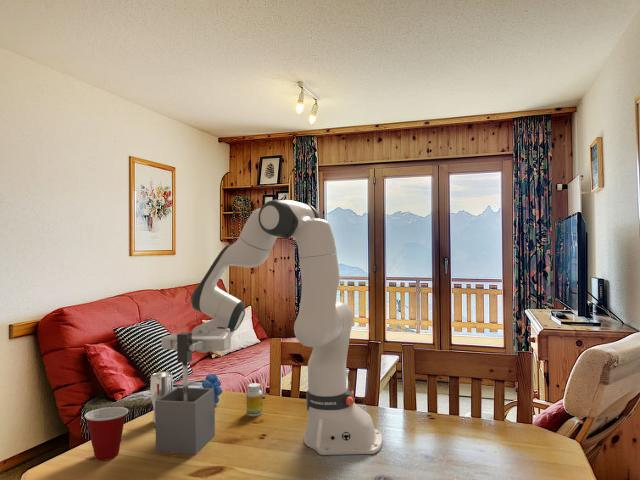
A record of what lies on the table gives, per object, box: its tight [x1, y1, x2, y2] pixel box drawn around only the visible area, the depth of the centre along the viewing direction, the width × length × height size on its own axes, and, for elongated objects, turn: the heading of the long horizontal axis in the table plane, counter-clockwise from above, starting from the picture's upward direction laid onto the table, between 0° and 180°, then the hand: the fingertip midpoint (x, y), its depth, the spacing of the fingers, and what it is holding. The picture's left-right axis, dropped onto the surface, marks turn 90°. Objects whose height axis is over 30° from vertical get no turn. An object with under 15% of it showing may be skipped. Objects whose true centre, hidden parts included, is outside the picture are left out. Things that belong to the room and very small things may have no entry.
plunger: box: [176, 331, 194, 402], centre depth 126 cm, size 9×9×22 cm
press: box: [154, 386, 216, 455], centre depth 126 cm, size 12×12×14 cm
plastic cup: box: [84, 406, 130, 461], centre depth 120 cm, size 11×11×12 cm
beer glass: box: [150, 371, 174, 425], centre depth 143 cm, size 7×7×15 cm
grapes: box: [201, 373, 223, 407], centre depth 153 cm, size 12×7×12 cm, turn 165°
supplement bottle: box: [245, 382, 264, 417], centre depth 147 cm, size 5×5×10 cm
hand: (183, 348), depth 125 cm, fingers closed on plunger, 3 cm apart
